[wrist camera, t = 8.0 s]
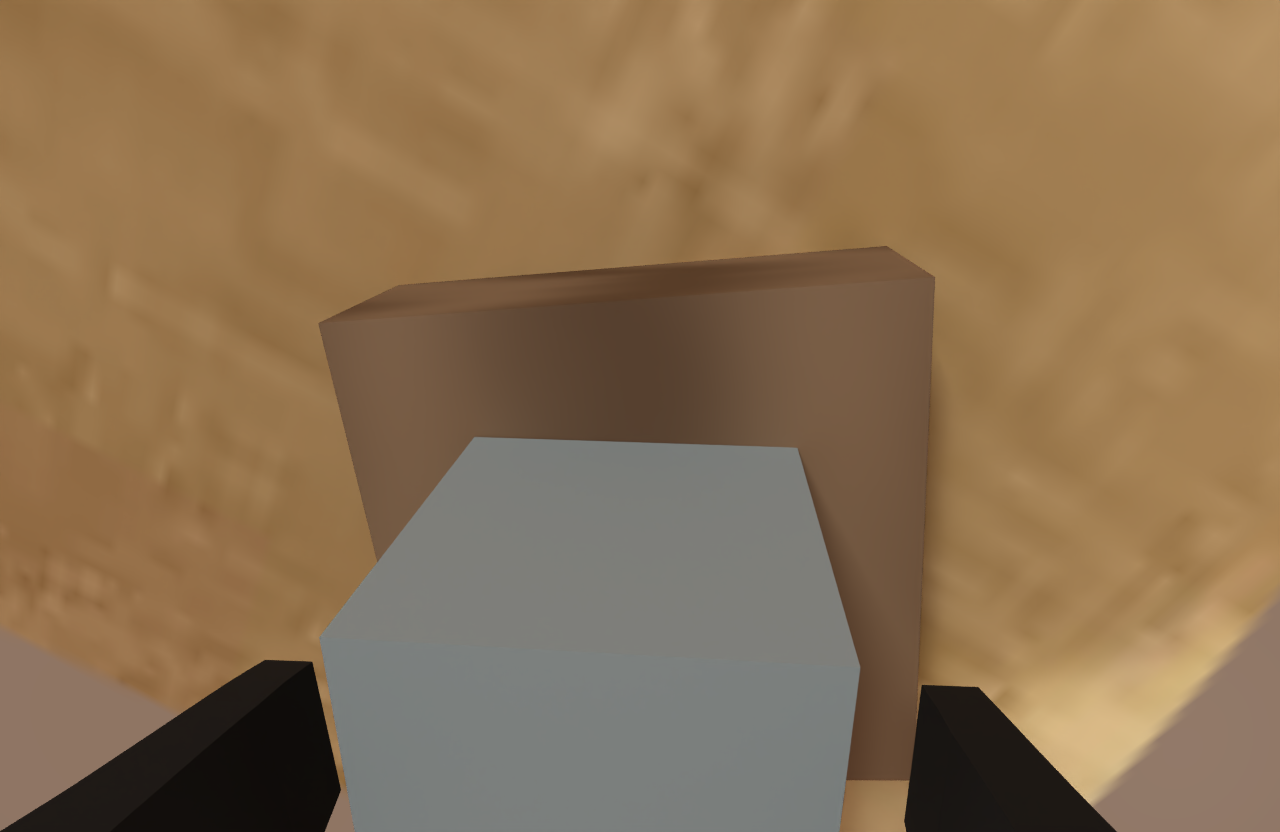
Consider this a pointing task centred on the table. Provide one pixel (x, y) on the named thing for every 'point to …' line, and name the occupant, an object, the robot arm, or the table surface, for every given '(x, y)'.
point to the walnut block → (680, 408)
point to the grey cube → (599, 648)
